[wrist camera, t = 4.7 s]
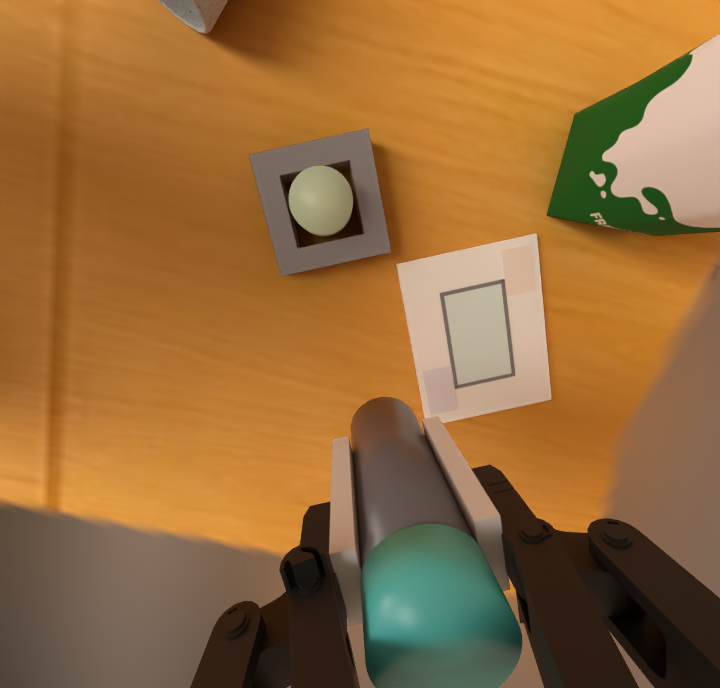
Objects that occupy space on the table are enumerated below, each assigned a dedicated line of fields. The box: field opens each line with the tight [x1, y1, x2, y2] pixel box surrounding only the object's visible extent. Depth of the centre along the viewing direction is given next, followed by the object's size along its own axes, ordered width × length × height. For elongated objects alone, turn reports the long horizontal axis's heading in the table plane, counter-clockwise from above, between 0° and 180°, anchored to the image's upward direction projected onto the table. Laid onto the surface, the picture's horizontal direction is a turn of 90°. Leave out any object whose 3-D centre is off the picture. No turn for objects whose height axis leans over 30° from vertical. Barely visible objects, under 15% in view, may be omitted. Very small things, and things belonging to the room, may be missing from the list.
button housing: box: [249, 128, 391, 276], centre depth 25 cm, size 8×8×2 cm
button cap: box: [289, 166, 353, 237], centre depth 24 cm, size 4×4×3 cm
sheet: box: [396, 233, 552, 423], centre depth 29 cm, size 11×14×1 cm
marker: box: [351, 397, 522, 688], centre depth 14 cm, size 4×4×12 cm
